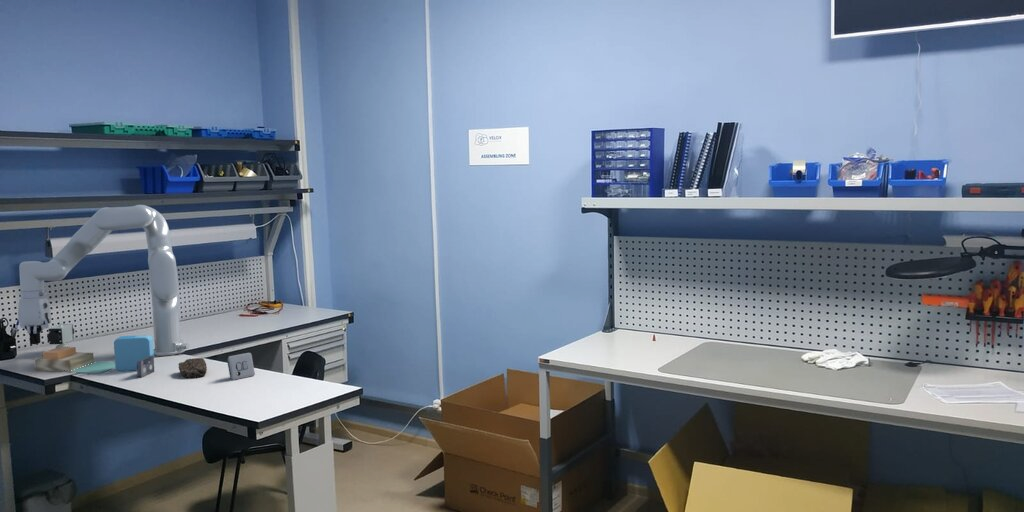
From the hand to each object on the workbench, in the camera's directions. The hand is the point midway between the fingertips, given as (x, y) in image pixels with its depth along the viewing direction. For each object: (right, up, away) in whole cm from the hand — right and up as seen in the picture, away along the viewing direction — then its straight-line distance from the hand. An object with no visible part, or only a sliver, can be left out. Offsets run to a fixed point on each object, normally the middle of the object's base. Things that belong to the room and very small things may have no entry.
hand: (35, 343), depth 272 cm
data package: (+39, -9, -4) cm, 40 cm away
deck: (+11, -9, 0) cm, 14 cm away
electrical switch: (+82, -10, -16) cm, 84 cm away
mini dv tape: (+47, -10, -12) cm, 50 cm away
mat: (+25, -9, -2) cm, 26 cm away
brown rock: (+64, -10, -12) cm, 66 cm away
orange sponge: (+9, -5, 0) cm, 10 cm away
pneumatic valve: (-3, -7, +21) cm, 22 cm away
